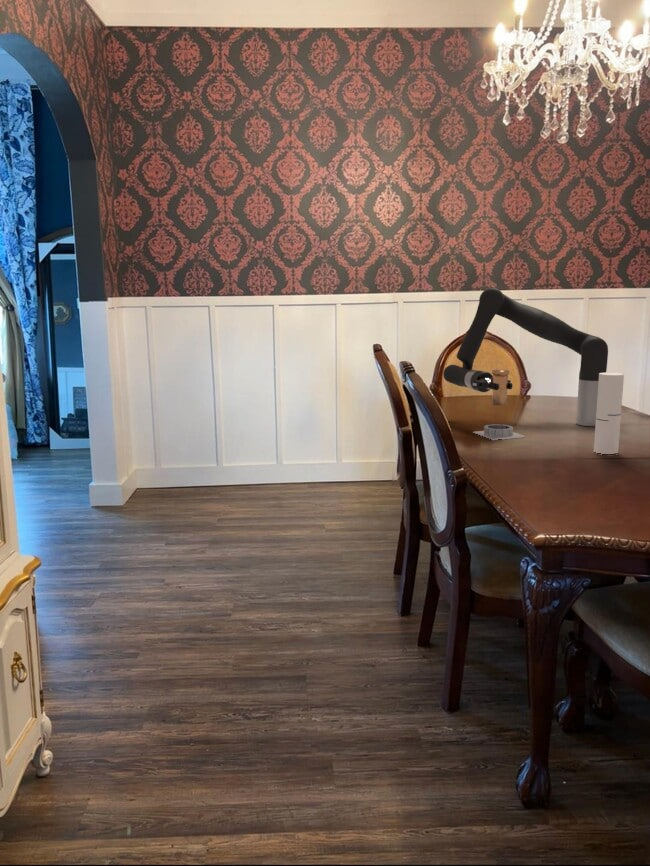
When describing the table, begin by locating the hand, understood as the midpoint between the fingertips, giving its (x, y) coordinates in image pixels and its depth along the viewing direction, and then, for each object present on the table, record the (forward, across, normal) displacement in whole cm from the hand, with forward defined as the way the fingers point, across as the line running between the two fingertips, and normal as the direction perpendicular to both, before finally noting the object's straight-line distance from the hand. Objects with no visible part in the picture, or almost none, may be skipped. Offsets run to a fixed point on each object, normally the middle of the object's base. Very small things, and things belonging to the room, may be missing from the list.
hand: (504, 386), depth 241 cm
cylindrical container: (+32, +17, +18) cm, 41 cm away
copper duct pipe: (-3, 0, +7) cm, 7 cm away
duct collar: (-3, 0, +18) cm, 18 cm away
